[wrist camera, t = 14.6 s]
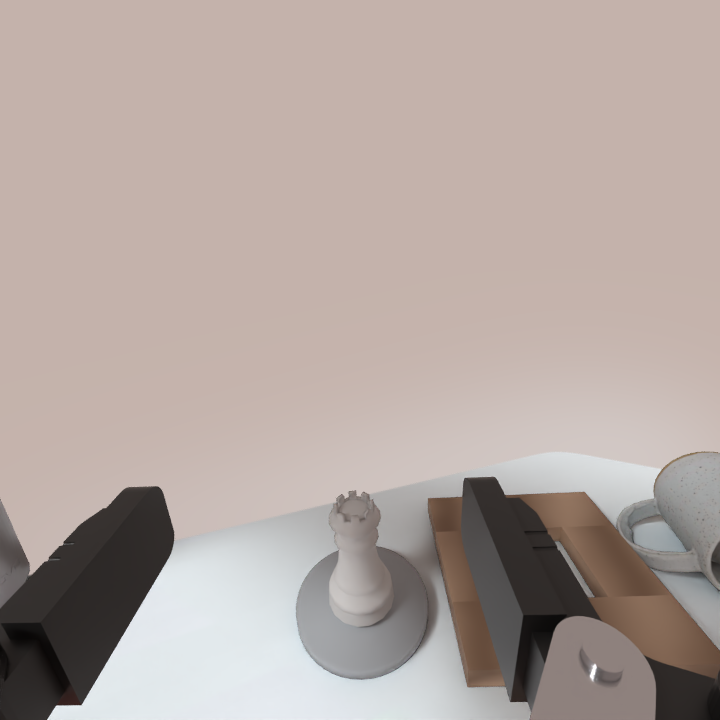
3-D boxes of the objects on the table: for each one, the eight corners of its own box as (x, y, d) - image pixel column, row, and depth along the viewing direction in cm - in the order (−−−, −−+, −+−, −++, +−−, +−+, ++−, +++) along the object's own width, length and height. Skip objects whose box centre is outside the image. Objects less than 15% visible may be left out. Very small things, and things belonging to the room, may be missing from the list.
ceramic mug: (738, 522, 31) (763, 440, 28) (839, 618, 23) (884, 518, 21) (597, 513, 33) (608, 437, 30) (646, 598, 25) (666, 506, 23)
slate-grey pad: (285, 681, 22) (283, 672, 21) (307, 555, 30) (306, 547, 30) (439, 677, 21) (439, 668, 21) (418, 551, 30) (418, 543, 30)
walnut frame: (467, 687, 21) (468, 670, 20) (428, 510, 34) (428, 498, 34) (723, 681, 20) (730, 663, 20) (582, 504, 34) (584, 492, 33)
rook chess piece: (393, 634, 23) (388, 533, 20) (323, 629, 24) (309, 530, 21) (395, 572, 27) (391, 481, 25) (335, 569, 28) (325, 480, 25)
